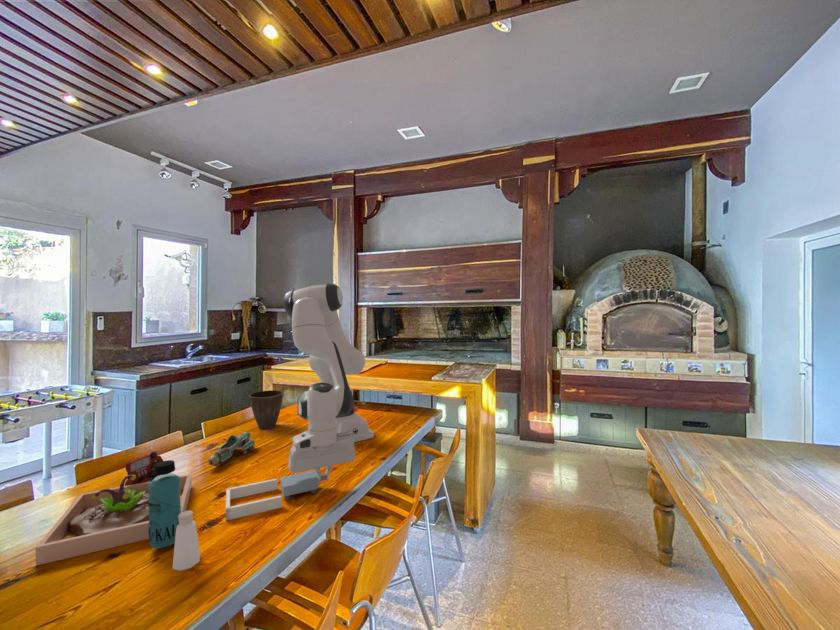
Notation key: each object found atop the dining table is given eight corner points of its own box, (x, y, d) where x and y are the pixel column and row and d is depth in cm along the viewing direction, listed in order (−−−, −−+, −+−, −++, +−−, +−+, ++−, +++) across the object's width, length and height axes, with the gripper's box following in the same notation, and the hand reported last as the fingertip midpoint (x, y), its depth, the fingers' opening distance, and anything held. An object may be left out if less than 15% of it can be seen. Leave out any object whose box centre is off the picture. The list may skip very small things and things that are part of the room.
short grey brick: (316, 483, 119) (316, 470, 119) (321, 493, 112) (320, 478, 112) (280, 491, 114) (280, 477, 114) (283, 502, 107) (283, 487, 107)
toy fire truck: (173, 479, 123) (173, 448, 123) (137, 498, 111) (136, 463, 111) (156, 477, 125) (156, 446, 125) (119, 495, 113) (118, 461, 113)
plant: (181, 511, 104) (180, 471, 104) (92, 550, 87) (91, 503, 87) (146, 494, 114) (146, 457, 114) (61, 526, 97) (60, 483, 97)
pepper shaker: (192, 570, 79) (191, 519, 79) (166, 572, 79) (165, 520, 79) (205, 554, 85) (204, 506, 85) (180, 555, 84) (179, 507, 84)
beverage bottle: (159, 539, 91) (157, 457, 90) (188, 537, 91) (186, 456, 91) (141, 556, 84) (140, 469, 84) (172, 554, 85) (170, 467, 84)
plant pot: (276, 431, 171) (275, 397, 171) (244, 432, 171) (243, 397, 171) (288, 422, 186) (287, 390, 186) (258, 422, 186) (257, 390, 186)
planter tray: (191, 486, 118) (191, 474, 118) (181, 531, 94) (180, 515, 94) (80, 508, 106) (80, 494, 106) (35, 565, 81) (35, 547, 81)
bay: (276, 488, 116) (276, 478, 116) (281, 507, 105) (281, 496, 105) (226, 498, 110) (226, 488, 110) (225, 520, 98) (225, 509, 98)
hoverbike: (260, 446, 153) (260, 426, 153) (222, 472, 128) (222, 448, 128) (238, 445, 154) (238, 425, 154) (196, 471, 129) (196, 448, 129)
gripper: (351, 428, 124) (352, 469, 124) (287, 438, 114) (288, 483, 114) (357, 433, 118) (358, 476, 118) (290, 444, 108) (291, 491, 109)
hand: (323, 480), depth 116 cm, fingers closed
